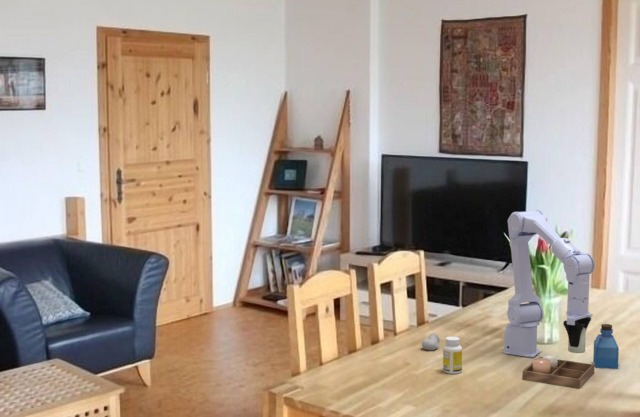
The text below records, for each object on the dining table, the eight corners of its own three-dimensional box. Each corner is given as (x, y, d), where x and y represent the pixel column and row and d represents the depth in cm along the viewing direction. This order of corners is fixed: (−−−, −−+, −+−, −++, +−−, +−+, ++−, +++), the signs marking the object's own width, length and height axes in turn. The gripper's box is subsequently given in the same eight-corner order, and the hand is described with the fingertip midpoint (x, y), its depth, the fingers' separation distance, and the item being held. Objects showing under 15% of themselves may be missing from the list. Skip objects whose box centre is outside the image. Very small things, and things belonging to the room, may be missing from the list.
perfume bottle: (618, 368, 248) (619, 328, 247) (595, 367, 250) (596, 327, 248) (615, 362, 254) (616, 323, 253) (593, 361, 256) (594, 322, 254)
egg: (539, 371, 247) (539, 355, 246) (543, 367, 251) (544, 351, 250) (554, 373, 244) (555, 358, 244) (559, 369, 248) (560, 354, 248)
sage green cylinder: (565, 351, 242) (566, 329, 241) (571, 347, 246) (571, 325, 245) (582, 354, 239) (582, 331, 239) (587, 350, 243) (587, 327, 242)
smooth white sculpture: (432, 356, 267) (417, 349, 269) (442, 349, 274) (428, 342, 276) (435, 343, 266) (421, 336, 268) (446, 337, 272) (432, 330, 275)
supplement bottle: (463, 369, 249) (463, 336, 248) (460, 375, 244) (460, 341, 243) (444, 367, 251) (445, 335, 249) (441, 373, 246) (441, 339, 244)
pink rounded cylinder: (530, 378, 240) (530, 361, 240) (535, 374, 244) (535, 357, 244) (547, 381, 238) (547, 363, 237) (552, 376, 242) (552, 359, 241)
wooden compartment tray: (522, 379, 240) (522, 370, 239) (539, 364, 253) (539, 356, 253) (579, 388, 231) (579, 379, 231) (594, 372, 245) (594, 364, 244)
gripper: (585, 303, 233) (584, 352, 234) (599, 293, 245) (597, 340, 246) (559, 301, 236) (558, 349, 238) (574, 291, 248) (572, 336, 250)
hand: (576, 344), depth 242 cm, fingers closed on sage green cylinder, 5 cm apart
